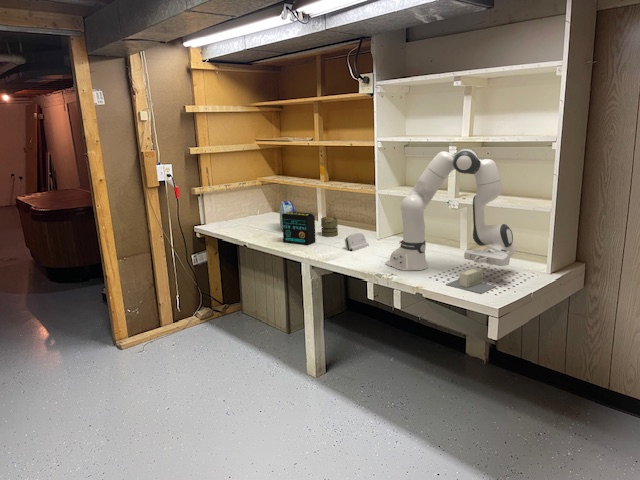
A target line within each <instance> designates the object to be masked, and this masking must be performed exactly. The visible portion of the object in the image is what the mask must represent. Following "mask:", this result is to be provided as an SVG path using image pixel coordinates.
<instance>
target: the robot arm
mask: <svg viewBox="0 0 640 480" xmlns="http://www.w3.org/2000/svg"><path fill="white" fill-rule="evenodd" d="M455 170H456V171H457V172H458V173H460V174H464V175H465V174H468V175H473V176H474V179H475V183H476V194H475V195H474V196H473V199H472V220H473V222H472V224H473V230H472V239H473V241H474V242H475V243H476V245H478V246H481V247H483V246H487V247H485V248H484V249H483V250H481V249H470V250H465V251H464V253H463V255H464V259H465V260H468V261H473V262H474V263H476V264H477V263H478V264H482V263H484V264H487V265H489V266H498V267H499V266H500V267H505V266H509V265H510V263H511V262H510V261H511V259H510V258H512V257H513V256H514V255H515V253H516V245H515V244H514V235H513V231H512V229H511V228H510V227H509V226H508V225H507V224H505V223H500V224H499V223H497V224H491V225H490V224H489V225H488V224H487V225H486V224H485V207H486V206H487V204H489V203H490V202H491V203H492V202H493V201H495V200H496V199H497V198H498V197H499V196H500V195H501V194H502V189H503V187H502V181H501V176H500V172H499V168H498V167H497V164H496V162H495V161H494V160H493V159H490V158H485V159H480V158H479V156H478V153H477V152H476V151H475V150H474V149H471V148H463V149H461V150H459V151H456V152H454V153H450V152H448V151H443V150H442V151H440V152H438V153H437V154H436V155H435V156H434V157H433V159H432V160H430V162H429V163H428V165H427V166H426V168H425V169H424V170H423V172H422V173H421V174H420V176H419V178H418V179H417V181H416V183H415V184H414V187H412V189H411V191H410V192H409V194H407V196H405V197H403V199H402V201H401V204H400V211H401V219H402V227H403V229H402V240H400V241H399V242H398V244H400V246H399V247H398V248H396V249H394V250H393V251H392V252H391V253H390V256H389V260H387V261H386V262H385V265H387V266H388V265H389V267H391V266H392V268H394V269H398V270H399V271H403V272H404V271H421V270H422V271H423V270H426V269H427V268H428V263H427V260H426V239H425V238H426V224H425V218H424V217H425V215H424V213H425V212H424V210H425V209H426V208H427V206H428V205H429V204H430V202H431V201H432V199H433V198H434V196H435V195H436V194H437V192H438V191H439V189H440V188H441V186H442V185H443V183H444V182H445V181H446V179H447V178H448V177H449V175H450V174H451V173H452V172H453V171H455ZM489 245H490V246H489Z"/></svg>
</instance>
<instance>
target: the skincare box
mask: <svg viewBox="0 0 640 480" xmlns="http://www.w3.org/2000/svg"><path fill="white" fill-rule="evenodd" d="M458 279H459V286H462V287H466V288H467V287H470V286H473V285H475V284H478V283H484V281H483V279H484V269H483V268H482V269H481V268H477V267H474V268H471V269H468V270H465V271H463V272H460V273H459V278H458Z"/></svg>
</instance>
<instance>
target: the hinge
mask: <svg viewBox="0 0 640 480" xmlns="http://www.w3.org/2000/svg"><path fill="white" fill-rule="evenodd" d="M344 243H345V249H346V251H350V250H352V252H355V251H358V250H362V249H365V248H368V247H370V245H369V242H367V240H366V237H365V234H364V233H361V232H360V233H359V232H357V233H353V234H350V235H348V236H347V237H346V238H345V239H344ZM367 246H368V247H367Z"/></svg>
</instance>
